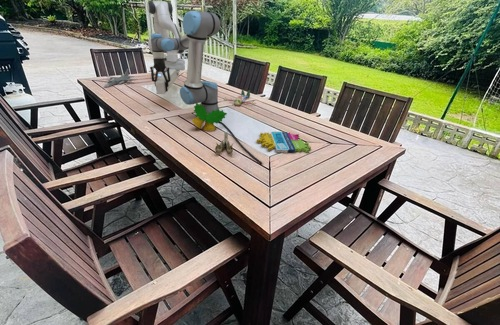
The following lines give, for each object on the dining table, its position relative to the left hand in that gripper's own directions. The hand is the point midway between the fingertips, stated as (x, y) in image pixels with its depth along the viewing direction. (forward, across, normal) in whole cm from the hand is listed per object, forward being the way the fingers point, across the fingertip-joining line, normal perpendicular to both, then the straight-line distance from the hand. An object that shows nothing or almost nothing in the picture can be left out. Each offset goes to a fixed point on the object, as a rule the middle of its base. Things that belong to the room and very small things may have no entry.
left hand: (173, 75), depth 235 cm
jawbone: (+13, -50, +122) cm, 133 cm away
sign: (+13, -83, +109) cm, 138 cm away
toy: (+13, -61, +29) cm, 69 cm away
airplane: (+13, +54, -14) cm, 58 cm away
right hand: (+2, -1, +47) cm, 47 cm away
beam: (+3, 0, +24) cm, 24 cm away
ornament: (+13, -40, +92) cm, 100 cm away
